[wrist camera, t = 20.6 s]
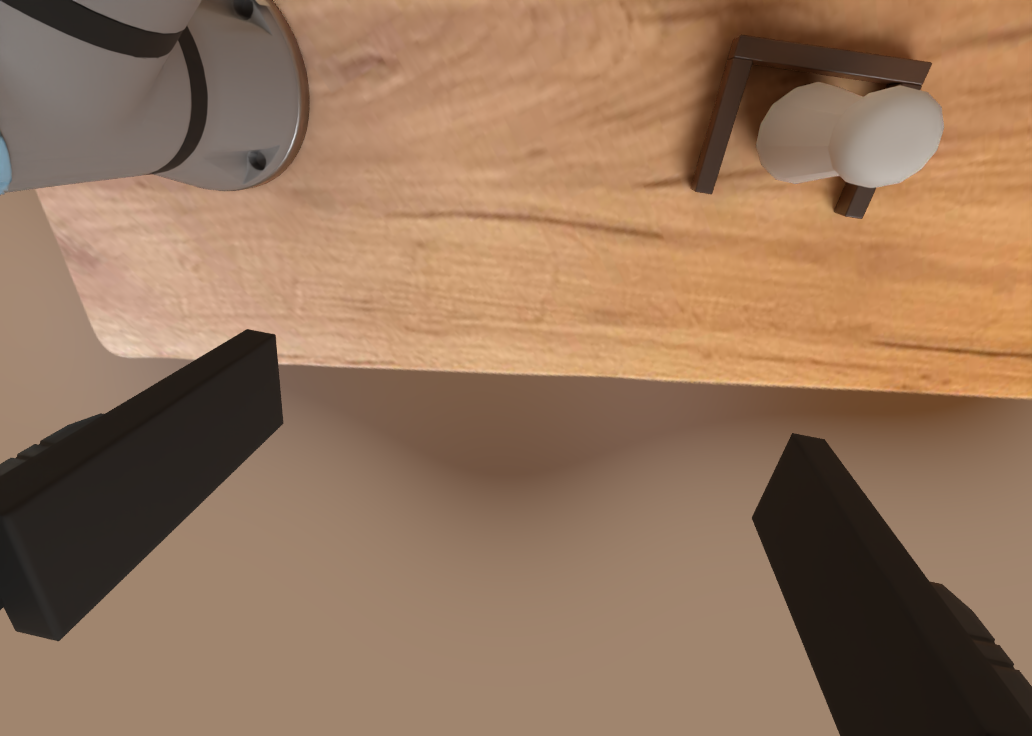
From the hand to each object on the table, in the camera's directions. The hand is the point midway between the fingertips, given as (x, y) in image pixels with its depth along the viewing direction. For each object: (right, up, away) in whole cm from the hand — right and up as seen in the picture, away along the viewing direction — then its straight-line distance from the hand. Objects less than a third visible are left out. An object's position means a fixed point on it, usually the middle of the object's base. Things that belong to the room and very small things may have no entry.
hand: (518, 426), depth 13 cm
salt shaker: (+19, +17, +21) cm, 33 cm away
